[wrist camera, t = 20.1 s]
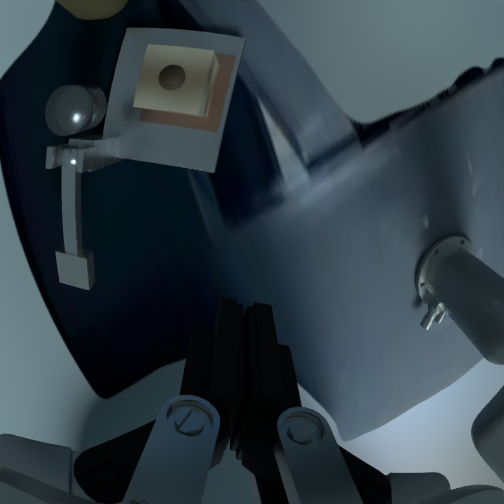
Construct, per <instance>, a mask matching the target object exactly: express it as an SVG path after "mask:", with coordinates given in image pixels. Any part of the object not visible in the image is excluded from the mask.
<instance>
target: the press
mask: <svg viewBox="0 0 504 504" xmlns="http://www.w3.org/2000/svg"><path fill="white" fill-rule="evenodd" d="M245 43H246V38H241V37H236V36H230V35H223V34H216V33H209V32H200V31H191V30H179V29H162V28H127V30H126V33H125V37H124V40H123V43H122V47H121V51H120V54H119V58H118V62H117V66H116V70H115V74H114V78H113V83H112V87H111V92H110V97H109V102H108V107H107V113H106V119H105V125H104V131H103V134H100V135H92V136H84V137H77V138H71V139H69V144H66V143H63V144H58V145H53V146H48V147H47V158H46V168H48V169H52V168H55V167H58V166H59V165H58V164H57V153H58V150H59V149H60V147H61V146H63V145H66V146H78V147H86V148H82V149H79V150H78V159H77V171H76V172H81V173H82V172H85V171H90V172H91V171H94V170H97V169H99V168H102V167H105V166H108V165H110V164H113V163H116V162H119V161H122V160H124V158H125V159H132V160H139V161H146V162H153V163H159V164H166V165H172V166H178V167H184V168H190V169H195V170H201V171H207V172H212V173H214V172H215V170H216V166H217V161H218V156H219V151H220V147H221V142H222V137H223V133H224V128H225V124H226V120H227V115H228V111H229V107H230V102H231V98H232V94H233V90H234V86H235V82H236V78H237V74H238V70H239V66H240V62H241V58H242V54H243V51H244V47H245ZM148 44H149V45H167V46H179V47H189V48H198V49H206V50H213V51H214V52H215V55H216V58H217V60H218V63H219V66H220V67H219V70H218V74H217V78H216V82H215V86H214V90H213V95H212V99H211V103H210V107H209V112H208V116H207V117H201V116H194V115H188V114H181V113H174V112H166V111H158V110H151V109H145V108H138V107H133V104H134V99H135V94H136V90H137V85H138V81H139V77H140V73H141V69H142V65H143V61H144V57H145V53H146V50H147V46H148Z"/></svg>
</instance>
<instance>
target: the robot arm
mask: <svg viewBox="0 0 504 504" xmlns="http://www.w3.org/2000/svg"><path fill="white" fill-rule="evenodd" d="M416 290H417V293H418V295H419V297H420V298H421V299H422V300H423V301H424V302H425V303H426V304H428V312H427V314H426V315H425V316H424V318H423V320H422V322H421V323H420V325H421V326H422V327H423V328H424V329H427V330H428V329H430V327H431V325H432V324H433V322H434V319H435V321H436V322H437V323H442V321H443V319H444V317H445V315H446V313H447V314H448V315H449V316H450V317H451V318H452V320H453V321H454V322H455V323H456V324H457V325H458V327H459V328H460V329H461V330H462V331H463V332H464V334H465V335H466V336H467V337H468V338H469V340H470V341H471V342H472V343H473V344H474V346H475V347H476V348H477V349H478V351H479V352H480V353H481V354H482V355H483V357H484V358H486V359H487V360H488V361H490V362H491V363H494V364H498V365H504V278H503V277H501V276H500V275H499V274H497V273H496V272H495V271H494V270H492V269H491V268H490V267H488V266H487V265H486V264H484V263H483V262H482V261H480V260H479V259H478V258H476V257H475V251H474V248H473V246H472V244H471V243H470V241H469V240H467V239H466V238H464V237H463V236H460V235H449V236H446V237H443V238H442V239H440V240H439V241H437V242H436V243H435V244H434V245H433V246H432V247H431V248H430V249H429V250H428V251H427V253H426V254H425V256H424V257H423V259H422V261H421V263H420V265H419V268H418V271H417V276H416ZM437 314H438V315H437ZM436 315H437V317H436ZM435 317H436V318H435ZM471 436H472V441H473V444H474V446H475V448H476V449H477V451H478V453H479V454H480V456H481V457H482V458H483V459H484V461H485V462H486V463H487V464H488V465H489V466H490V468H491V469H492V470H493V471H494V472H495V473H496V474H497V476H498V477H499V478H500V479H501V480H502V481H503V483H504V386H503V387H502V388H501V389H500V390H499V392H498V393H497V394H496V395H495V396H494V397H493V398H492V400H491V401H490V402H489V403H488V404H487V405H486V406H485V407H484V408H483V410H482V411H481V412H480V413H479V414H478V415H477V417H476V419H475V420H474V422H473V425H472V428H471ZM229 439H230V450H233V451H236V459H237V460H242V465H243V466H244V467H245V468H247V469H248V470H249V478H250V482H251V486H252V491H253V495H254V499H255V504H504V491H503V490H502V489H500V488H498V487H494V486H490V485H470V486H464V487H461V488H456V489H453V490H451V489H450V484H449V481H448V480H447V479H446V477H445V476H444V475H442V474H440V473H436V472H431V473H430V472H429V473H389V474H388V475H384V474H383V473H381V472H380V471H379V470H377V469H375V468H374V467H372V466H370V465H369V464H367V463H365V462H364V461H362V460H361V459H359V458H357V457H356V456H354V455H353V454H351V453H350V452H348V451H347V450H345V449H343V448H342V447H340V446H339V445H338V444H337V442H336V440H335V438H334V435H333V433H332V431H331V428H330V426H329V424H328V422H327V421H326V419H325V418H324V417H323V416H322V415H321V414H320V413H318V412H316V411H314V410H312V409H309V408H305V407H302V405H301V400H300V395H299V390H298V385H297V380H296V375H295V370H294V365H293V361H292V356H291V351H290V348H289V346H287V345H279V344H278V342H277V336H276V330H275V324H274V318H273V312H272V307H271V305H268V304H262V303H256V302H255V303H254V304H253V306H247V308H246V312H245V316H244V320H243V305H242V304H237V299H232V298H227V297H221V298H220V303H219V308H218V313H217V318H216V323H215V328H214V333H213V335H211V334H206V333H200V332H195V331H192V332H191V337H190V342H189V347H188V352H187V358H186V363H185V368H184V374H183V379H182V385H181V390H180V395H179V396H176V397H173V398H171V399H170V400H168V401H167V402H165V404H164V405H163V407H162V408H161V410H160V412H159V415H158V417H157V419H156V420H154V421H152V422H150V423H147V424H145V425H143V426H141V427H139V428H137V429H135V430H133V431H130V432H128V433H126V434H123V435H121V436H119V437H116V438H114V439H112V440H109V441H107V442H104V443H102V444H100V445H97V446H95V447H92V448H90V449H87V450H86V451H84V452H81V451H74V450H71V448H70V447H66V446H60V445H54V444H49V443H45V442H40V441H35V440H31V439H27V438H22V437H19V436H16V435H12V434H1V435H0V504H201V501H202V497H203V493H204V489H205V484H206V481H207V477H208V473H209V470H210V469H211V468H213V467H214V466H216V465H217V464H219V463H220V461H221V458H222V456H223V453H224V451H225V449H226V447H227V444H228V442H229Z"/></svg>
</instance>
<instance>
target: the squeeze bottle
mask: <svg viewBox="0 0 504 504" xmlns="http://www.w3.org/2000/svg"><path fill="white" fill-rule="evenodd" d="M55 1H57V2H58V3H59V4H60V5H62V6H63V7H64V8H65V9H67V10H68V11H69V12H70V13H72V14H73V15H74V16H75V17H77V18H80V19H85V20H93V19H105V18H109V17H111V16H113V15H115V14H117V13H118V12H119V11H120V10H121V9H123V8H124V6H125V4H126V3H127V1H128V0H55Z"/></svg>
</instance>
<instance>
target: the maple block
mask: <svg viewBox="0 0 504 504" xmlns="http://www.w3.org/2000/svg"><path fill="white" fill-rule="evenodd" d="M219 67H220V66H219V63H218V60H217V58H216V55H215V52H214V51H213V50H206V49H198V48H189V47H179V46H167V45H149V44H148V46H147V50H146V53H145V57H144V61H143V65H142V69H141V73H140V77H139V81H138V85H137V90H136V94H135V99H134V104H133V107H138V108H145V109H151V110H158V111H166V112H174V113H181V114H188V115H194V116H201V117H207V116H208V112H209V107H210V103H211V99H212V95H213V90H214V86H215V82H216V78H217V74H218V70H219Z"/></svg>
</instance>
